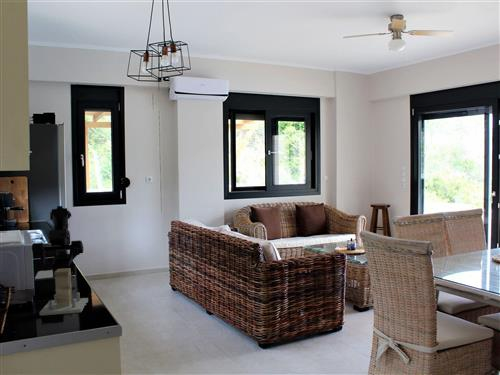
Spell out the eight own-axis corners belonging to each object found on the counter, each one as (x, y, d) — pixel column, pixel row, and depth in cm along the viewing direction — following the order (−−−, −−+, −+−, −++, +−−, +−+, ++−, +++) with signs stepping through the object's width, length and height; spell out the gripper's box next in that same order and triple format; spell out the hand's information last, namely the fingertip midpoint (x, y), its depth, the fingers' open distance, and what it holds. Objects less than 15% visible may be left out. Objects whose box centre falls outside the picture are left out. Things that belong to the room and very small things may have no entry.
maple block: (59, 303, 178) (57, 269, 177) (72, 302, 179) (70, 268, 178) (56, 307, 174) (54, 271, 173) (69, 306, 174) (67, 271, 174)
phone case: (54, 280, 221) (57, 272, 236) (53, 277, 221) (57, 269, 236) (33, 282, 218) (37, 274, 234) (33, 279, 218) (37, 271, 233)
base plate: (50, 303, 182) (49, 292, 182) (88, 300, 184) (87, 290, 184) (39, 315, 168) (38, 303, 168) (80, 312, 170) (80, 300, 170)
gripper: (31, 223, 188) (25, 256, 178) (80, 220, 191) (77, 253, 181) (37, 239, 196) (32, 272, 186) (84, 236, 200) (82, 268, 190)
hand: (55, 266), depth 186 cm, fingers open, 9 cm apart
